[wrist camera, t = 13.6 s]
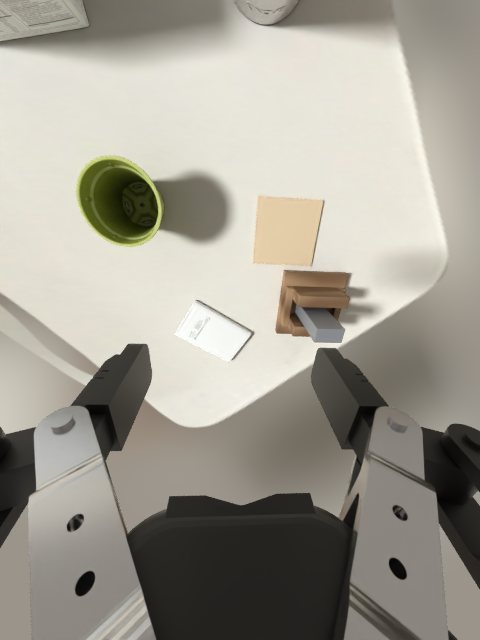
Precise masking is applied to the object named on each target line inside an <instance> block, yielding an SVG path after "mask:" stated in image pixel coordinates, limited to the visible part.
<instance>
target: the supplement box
mask: <svg viewBox="0 0 480 640" xmlns="http://www.w3.org/2000/svg"><path fill="white" fill-rule="evenodd" d="M88 26H89V22H88V19H87V15H86V12H85V8H84V5H83V1H82V0H0V41H5V40H11V39H17V38H24V37H30V36H36V35H42V34H49V33H55V32H61V31H67V30H73V29H79V28H84V27H88Z"/></svg>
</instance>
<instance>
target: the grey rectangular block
mask: <svg viewBox="0 0 480 640" xmlns="http://www.w3.org/2000/svg"><path fill="white" fill-rule="evenodd" d="M295 312H296V314H297V316H298V317H299V319H300V320H301V322H302V324H303V325H304V327H305V328H306V330H307V332H308V333H309V335H310V336H311V338H312V340H313V341H314V342H324V343H341V342H342V339H343V335H344V332H345V329H344V328H343V327H342V326H341V324H340V323H339V322H338V321H337V320H336V319H335V318H334V317H333V316H332V315H331V314H330V313H329V312H328V311H327V310H326V308H319V307H298V306H297V304H296V309H295Z"/></svg>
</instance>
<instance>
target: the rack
mask: <svg viewBox="0 0 480 640" xmlns="http://www.w3.org/2000/svg"><path fill="white" fill-rule="evenodd" d="M347 278H348V274H347V273H342V272H317V271H292V270H284V273H283V281H282V288H281V295H280V302H279V309H278V316H277V324H276V333H280V334H292V335H293V336H306V337H311V336H310V335H309V333H308V332H307V330H306V328H305V327H304V325H303V324H302V322H301V320H300V319H299V317H298V316H297V314H296V312H295V309H296V304H297V306H298V307H319V308H326V310H327V311H328V312H329V313H330V314H331V315H332V316H333V317H334V318H335V319H336V320H337V321H338V318H339V314H340V310H341V308H347V307H348V303H349V300H350V297H348V296H347V295H346V294H345V292H346V290H345V285H346V281H347Z"/></svg>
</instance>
